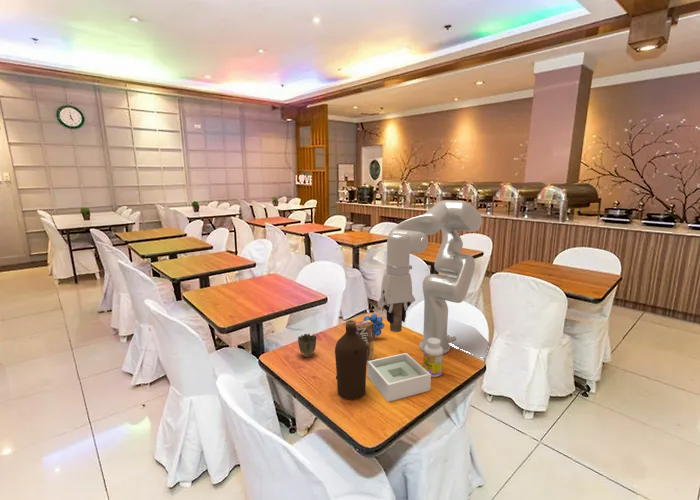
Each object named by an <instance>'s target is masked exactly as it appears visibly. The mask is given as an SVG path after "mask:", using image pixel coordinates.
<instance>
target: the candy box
mask: <svg viewBox="0 0 700 500" xmlns="http://www.w3.org/2000/svg"><path fill="white" fill-rule="evenodd" d="M355 322H356V321H355ZM356 333H357V334H358V335H359V336H360V337H361V338H362V339H363V340H364V341H365V343H366V346H367V361H371V360H375V350H374V349H375V343H374V342H375V341H374V340H375V338H374V334H373V322H371V321H370V320H365V321H363V320H362V321H357V322H356Z"/></svg>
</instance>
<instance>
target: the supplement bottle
mask: <svg viewBox="0 0 700 500" xmlns="http://www.w3.org/2000/svg"><path fill="white" fill-rule="evenodd" d="M427 344H428V345H426V346H425V348H424V351H423V365H422V367H423V368H424V369H425V370H427V371H428V372H429V373H430V374H431V378H437V377H439V376H441V375H442V371H443V355H444V354H443V349H442V347H441V346H440V340H439V339H437V338H429V339H427Z"/></svg>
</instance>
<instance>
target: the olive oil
mask: <svg viewBox="0 0 700 500" xmlns="http://www.w3.org/2000/svg"><path fill="white" fill-rule="evenodd" d="M334 358H335V359H334V360H335V370H336V376H335V379H336V383H337V384H336V385H337V387H336V389H337V394H338V396H339V397H340V398H342V399H345V400H348V401H349V400H358V399H360V398H362V397H363V396H364V395H365V394H366V389H367V388H366V387H367V386H366V382H367V346H366V343H365V341H364V340H363V339H362V338H361V337H360V336H359V335H358V334H357V333H356V321H355V320H352V319H350V320H346V321H345V333H344V334H342V336H341V337H340V338H339V339H338V340H337V341H336V344H335V347H334Z"/></svg>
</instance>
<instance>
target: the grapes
mask: <svg viewBox="0 0 700 500" xmlns="http://www.w3.org/2000/svg"><path fill="white" fill-rule="evenodd" d="M365 320H370V321H371V322H373V334H374V339H375V338H376V337H379V336H381V335H382V330H383V329H384V328H385V324H384V322H383V320H384V319H383V317H382V316H378V315H377V314H376V313H372V314H371V315H370V316H369V315H365V316H364V317H363V320H362V321H365Z"/></svg>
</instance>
